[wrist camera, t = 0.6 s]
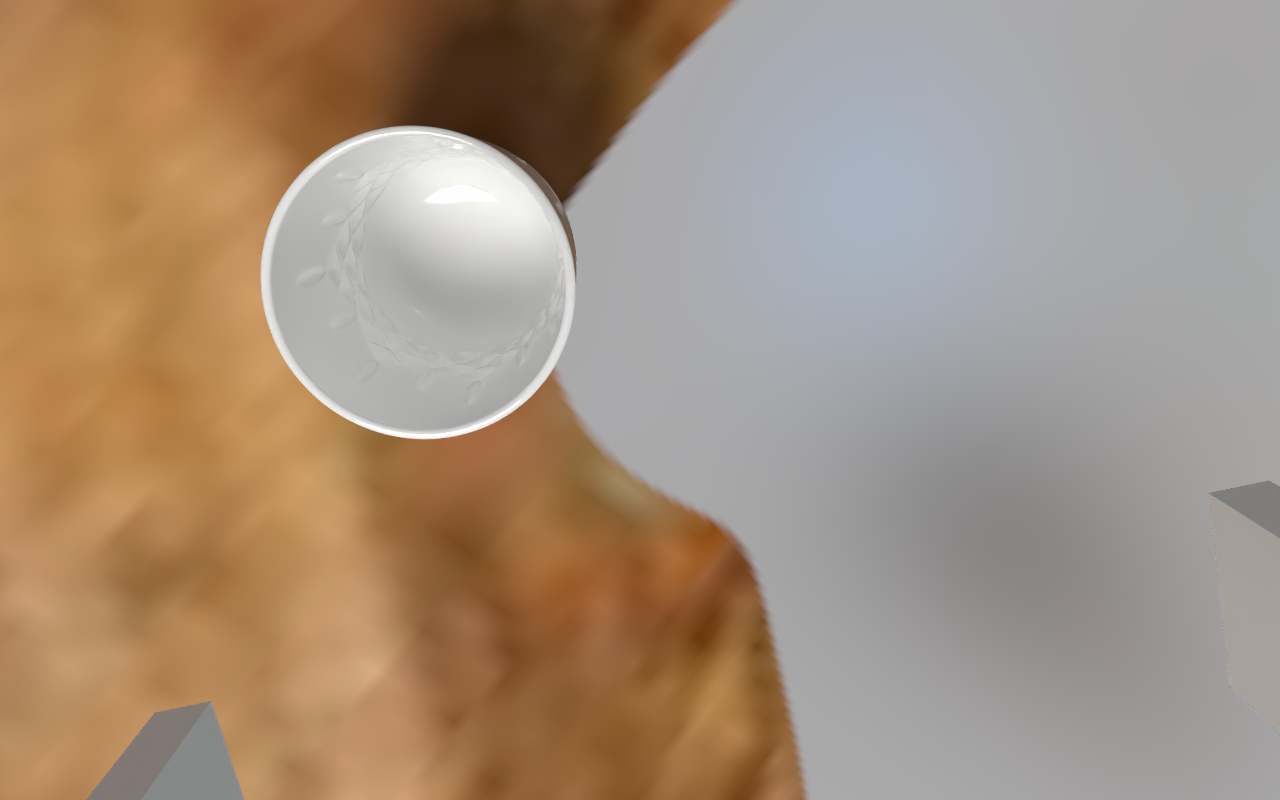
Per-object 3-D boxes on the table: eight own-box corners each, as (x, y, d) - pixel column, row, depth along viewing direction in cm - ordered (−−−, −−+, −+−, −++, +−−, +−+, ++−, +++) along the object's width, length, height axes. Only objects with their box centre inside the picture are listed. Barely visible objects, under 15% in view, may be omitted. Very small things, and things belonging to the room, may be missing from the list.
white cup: (480, 75, 38) (427, 56, 28) (638, 262, 39) (640, 305, 29) (304, 234, 39) (193, 268, 29) (463, 410, 40) (408, 499, 30)
